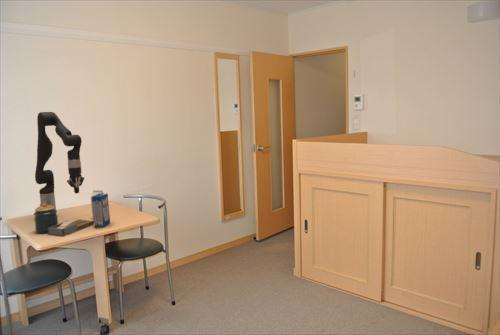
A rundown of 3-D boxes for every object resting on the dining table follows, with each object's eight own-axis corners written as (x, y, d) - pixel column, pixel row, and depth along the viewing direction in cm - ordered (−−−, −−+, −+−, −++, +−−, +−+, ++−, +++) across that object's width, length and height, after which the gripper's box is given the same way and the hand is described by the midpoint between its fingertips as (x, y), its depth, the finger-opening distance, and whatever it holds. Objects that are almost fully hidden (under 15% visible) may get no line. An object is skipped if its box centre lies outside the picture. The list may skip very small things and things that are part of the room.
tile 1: (53, 233, 239) (53, 228, 238) (60, 231, 243) (60, 226, 243) (60, 234, 237) (59, 229, 237) (66, 231, 242) (66, 227, 241)
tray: (48, 234, 239) (47, 227, 239) (62, 229, 249) (62, 222, 249) (63, 236, 235) (62, 229, 234) (77, 230, 245) (76, 224, 245)
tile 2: (61, 229, 244) (59, 225, 243) (67, 225, 248) (65, 221, 247) (67, 230, 242) (65, 226, 241) (73, 226, 246) (71, 221, 245)
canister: (34, 235, 239) (31, 206, 237) (36, 229, 251) (33, 202, 249) (58, 231, 244) (55, 203, 242) (59, 226, 256) (56, 199, 254)
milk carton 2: (100, 223, 261) (98, 193, 258) (110, 223, 260) (107, 193, 258) (94, 227, 251) (91, 196, 248) (104, 227, 250) (101, 196, 248)
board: (62, 229, 249) (62, 225, 249) (79, 223, 262) (79, 219, 262) (77, 230, 245) (77, 226, 245) (93, 224, 258) (93, 220, 258)
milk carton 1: (101, 218, 272) (99, 191, 269) (92, 218, 273) (90, 191, 271) (107, 216, 279) (105, 189, 276) (98, 215, 280) (96, 189, 277)
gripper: (77, 164, 260) (80, 190, 262) (61, 167, 248) (64, 194, 250) (86, 165, 257) (89, 191, 260) (71, 168, 245) (73, 195, 248)
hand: (76, 193), depth 255 cm, fingers closed
